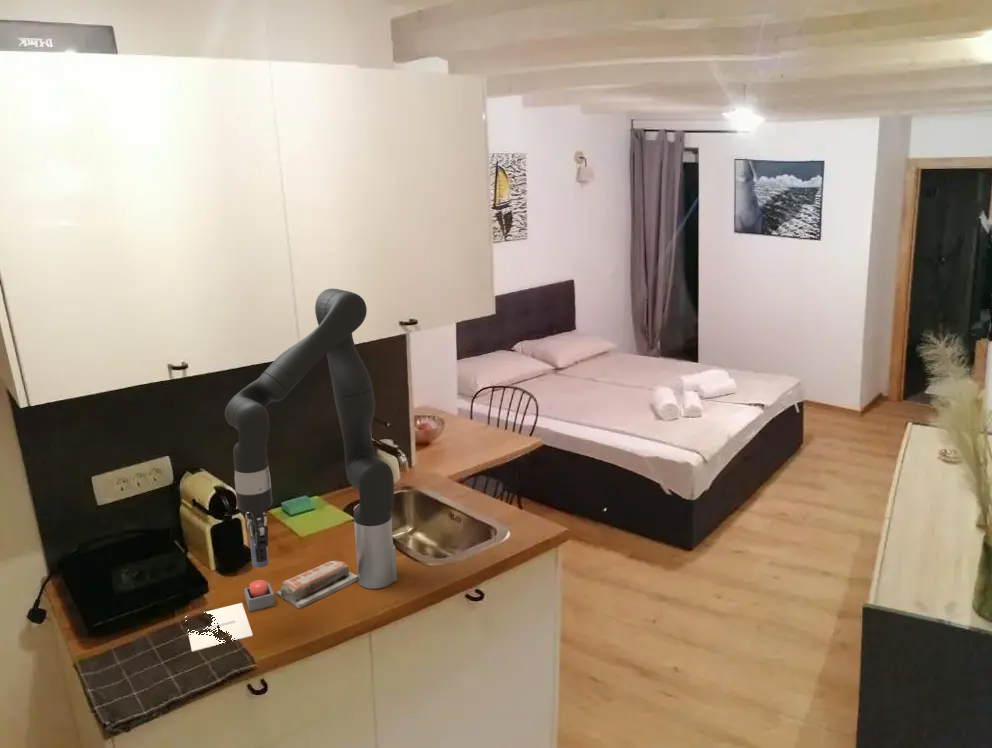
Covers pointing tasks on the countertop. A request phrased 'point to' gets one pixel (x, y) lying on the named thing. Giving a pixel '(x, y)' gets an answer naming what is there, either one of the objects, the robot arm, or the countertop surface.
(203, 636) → the drawing pad
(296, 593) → the packaged product
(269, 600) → the button base
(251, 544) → the marker
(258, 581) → the button
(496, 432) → the countertop surface
